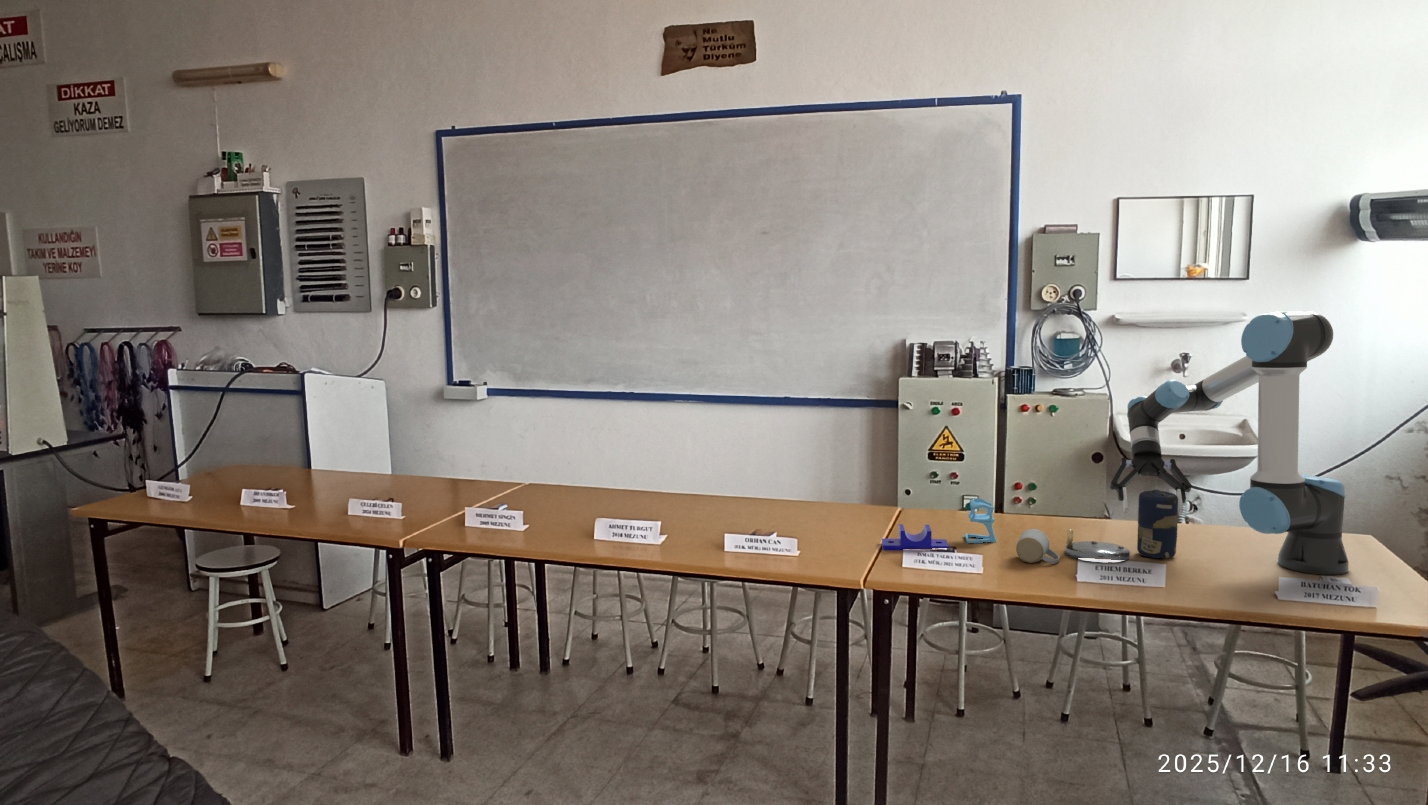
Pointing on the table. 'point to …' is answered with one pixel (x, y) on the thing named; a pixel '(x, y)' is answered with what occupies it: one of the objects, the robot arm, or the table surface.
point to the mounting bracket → (914, 540)
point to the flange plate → (1094, 549)
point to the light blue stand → (981, 521)
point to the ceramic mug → (1035, 547)
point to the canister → (1157, 524)
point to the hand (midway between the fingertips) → (1153, 511)
